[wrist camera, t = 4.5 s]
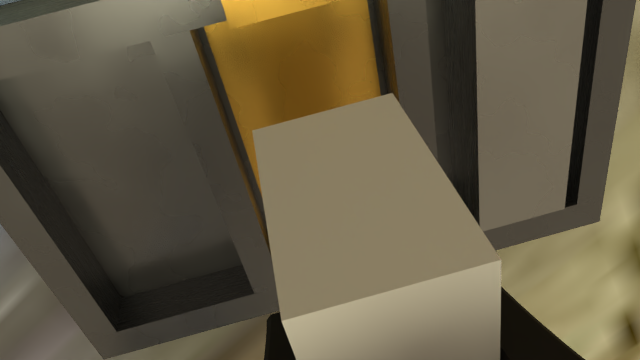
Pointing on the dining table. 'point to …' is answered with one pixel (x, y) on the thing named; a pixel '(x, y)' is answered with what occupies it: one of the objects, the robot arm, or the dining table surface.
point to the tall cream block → (374, 241)
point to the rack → (269, 109)
